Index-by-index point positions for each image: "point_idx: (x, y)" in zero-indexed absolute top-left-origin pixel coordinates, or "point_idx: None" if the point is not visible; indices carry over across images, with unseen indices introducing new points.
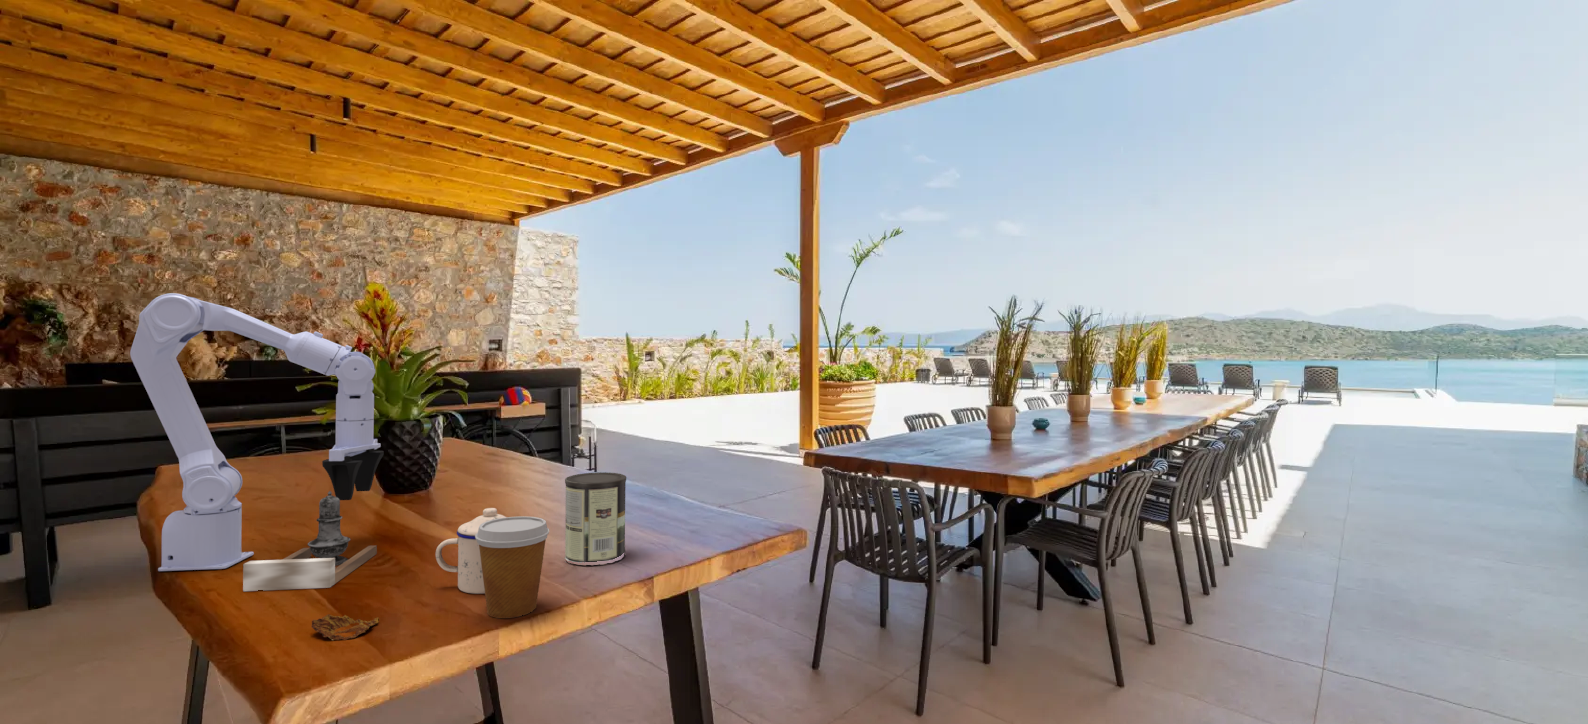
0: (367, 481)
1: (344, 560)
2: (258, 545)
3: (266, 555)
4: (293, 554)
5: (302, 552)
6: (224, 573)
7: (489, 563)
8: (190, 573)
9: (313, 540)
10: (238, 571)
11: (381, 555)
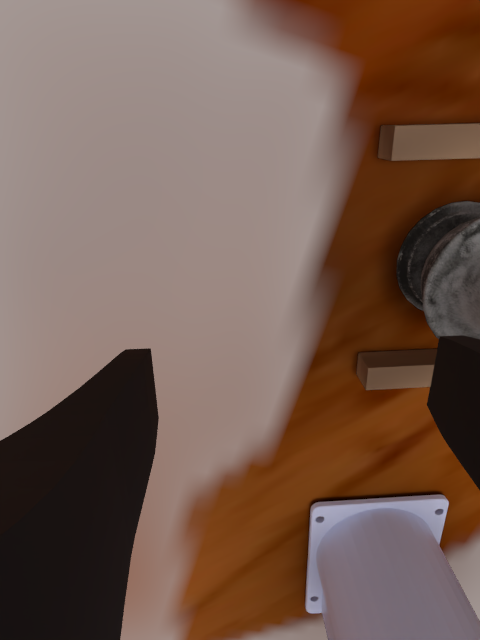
0: (138, 399)
1: (465, 210)
2: (201, 539)
3: (315, 473)
4: None
5: (430, 365)
6: None
7: None
8: (448, 540)
9: None
10: None
11: (403, 94)
